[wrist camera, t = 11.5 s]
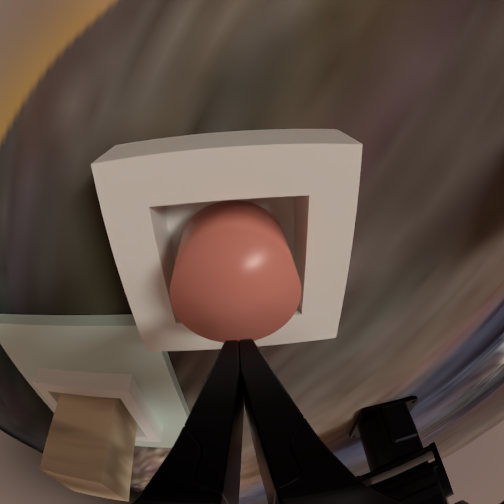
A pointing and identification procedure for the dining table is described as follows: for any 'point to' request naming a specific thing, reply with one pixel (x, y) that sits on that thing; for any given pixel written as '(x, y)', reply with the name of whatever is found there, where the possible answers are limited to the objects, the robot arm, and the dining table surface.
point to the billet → (91, 446)
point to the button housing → (224, 189)
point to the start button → (234, 273)
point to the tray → (98, 367)
